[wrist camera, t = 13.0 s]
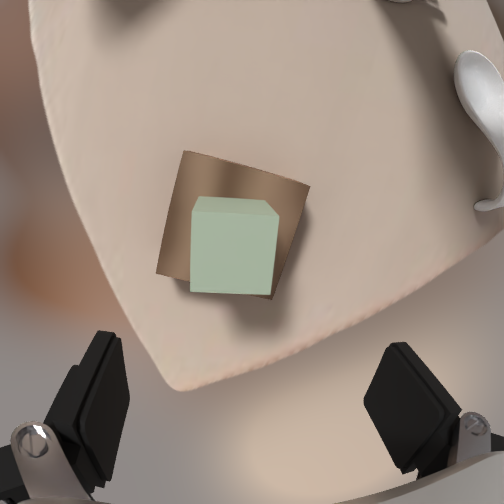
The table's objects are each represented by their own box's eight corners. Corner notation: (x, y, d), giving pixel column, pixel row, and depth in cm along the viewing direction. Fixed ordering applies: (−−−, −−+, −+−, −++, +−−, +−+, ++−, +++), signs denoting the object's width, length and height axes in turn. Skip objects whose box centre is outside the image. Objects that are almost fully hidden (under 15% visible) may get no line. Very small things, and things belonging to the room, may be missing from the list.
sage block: (264, 200, 27) (279, 216, 21) (258, 261, 29) (270, 294, 23) (198, 196, 27) (191, 211, 20) (196, 259, 29) (190, 291, 22)
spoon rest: (432, 50, 28) (466, 39, 21) (481, 58, 28) (513, 52, 21) (458, 214, 36) (492, 227, 29) (501, 200, 36) (532, 211, 29)
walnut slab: (296, 180, 32) (310, 186, 28) (264, 279, 36) (272, 299, 31) (188, 150, 30) (183, 150, 25) (163, 256, 33) (155, 273, 29)
